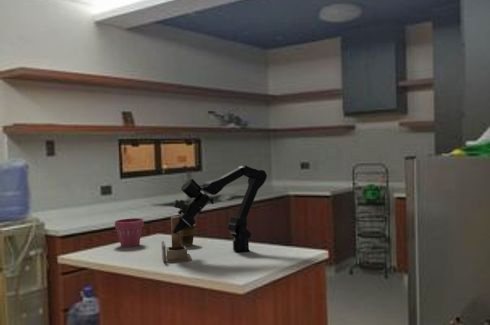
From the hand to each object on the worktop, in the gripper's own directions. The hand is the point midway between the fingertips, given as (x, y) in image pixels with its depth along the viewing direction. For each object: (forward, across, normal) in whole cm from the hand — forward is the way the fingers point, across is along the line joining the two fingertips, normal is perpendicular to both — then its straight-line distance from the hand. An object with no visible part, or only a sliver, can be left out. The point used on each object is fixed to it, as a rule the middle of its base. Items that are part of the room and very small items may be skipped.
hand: (172, 232), depth 208 cm
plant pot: (+22, -41, -5) cm, 47 cm away
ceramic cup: (+3, -29, +14) cm, 32 cm away
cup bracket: (+7, 0, +9) cm, 12 cm away
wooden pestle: (+4, 0, +6) cm, 7 cm away
